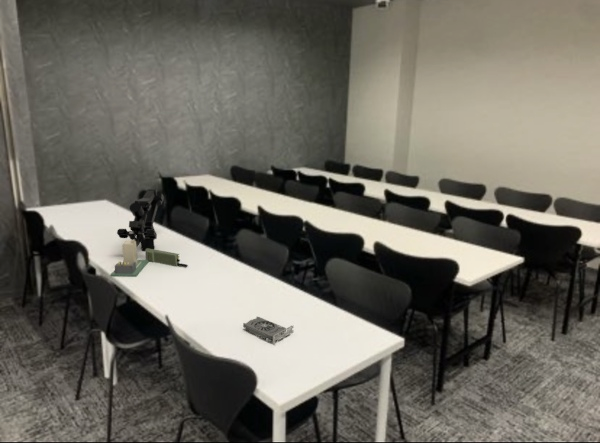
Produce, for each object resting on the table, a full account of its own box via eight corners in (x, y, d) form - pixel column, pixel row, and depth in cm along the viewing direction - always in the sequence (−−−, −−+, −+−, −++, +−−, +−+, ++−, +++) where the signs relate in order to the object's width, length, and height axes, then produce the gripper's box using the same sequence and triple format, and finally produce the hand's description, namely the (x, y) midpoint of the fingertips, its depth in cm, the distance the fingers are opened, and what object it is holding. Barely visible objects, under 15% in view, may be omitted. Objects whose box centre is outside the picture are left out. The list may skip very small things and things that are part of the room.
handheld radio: (149, 259, 241) (189, 267, 232) (145, 261, 238) (185, 269, 229) (148, 247, 239) (188, 254, 230) (144, 249, 236) (184, 257, 227)
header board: (125, 261, 236) (124, 249, 235) (148, 261, 237) (147, 250, 235) (110, 276, 217) (109, 263, 215) (136, 276, 217) (135, 263, 216)
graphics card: (295, 325, 170) (274, 337, 161) (295, 334, 171) (274, 346, 161) (262, 312, 180) (240, 322, 171) (262, 320, 181) (240, 331, 171)
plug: (127, 263, 230) (125, 238, 226) (137, 263, 230) (135, 238, 226) (124, 267, 225) (122, 241, 221) (134, 267, 225) (132, 242, 222)
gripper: (116, 213, 232) (110, 240, 224) (153, 214, 233) (148, 241, 225) (123, 224, 242) (117, 250, 234) (158, 224, 242) (154, 251, 235)
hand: (134, 248), depth 232 cm, fingers closed
